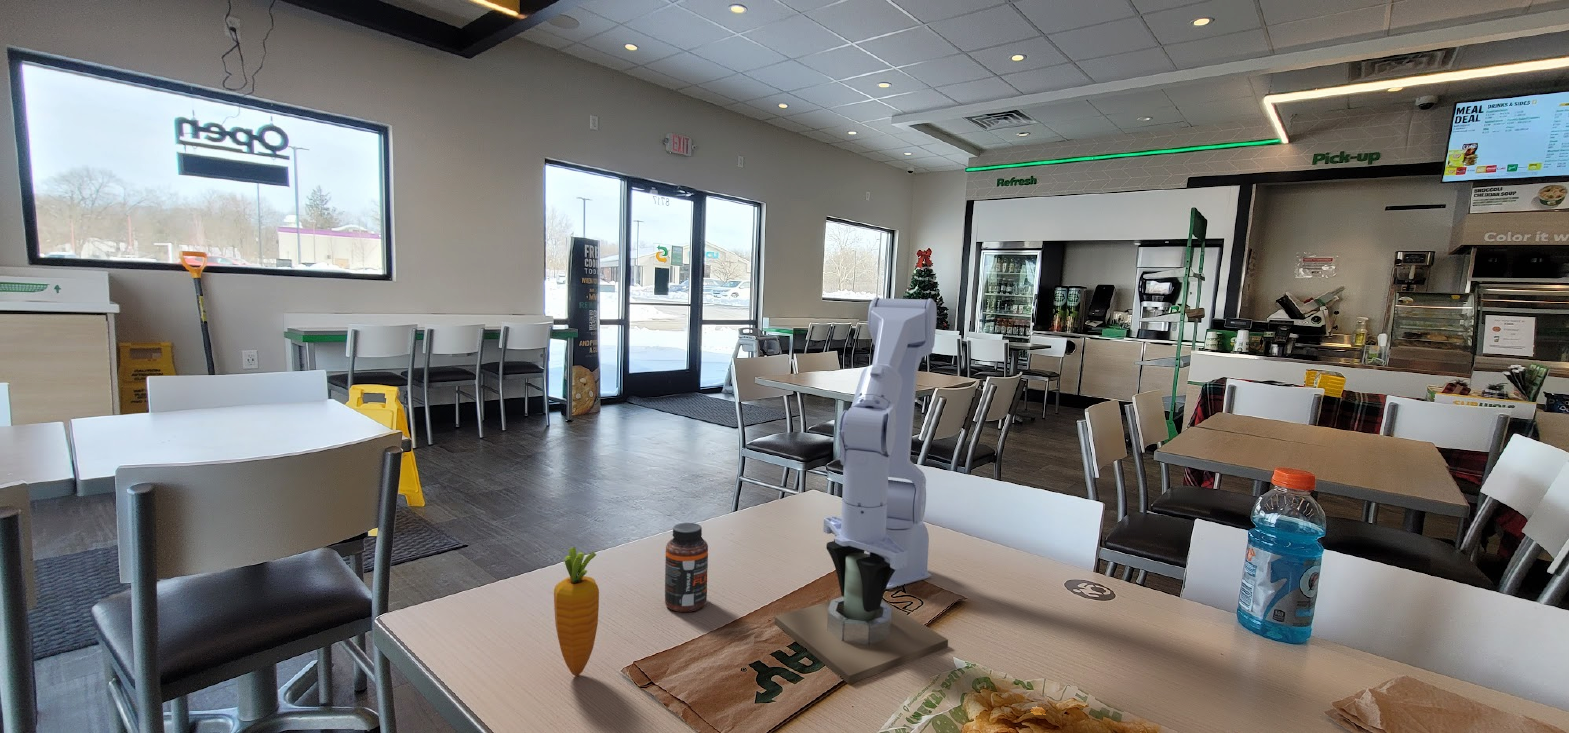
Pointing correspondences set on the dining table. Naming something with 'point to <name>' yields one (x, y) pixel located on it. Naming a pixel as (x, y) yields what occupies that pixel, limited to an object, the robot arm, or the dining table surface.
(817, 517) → the dining table surface
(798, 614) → the collar board
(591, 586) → the carrot
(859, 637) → the collar ring
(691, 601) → the supplement bottle
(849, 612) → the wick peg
